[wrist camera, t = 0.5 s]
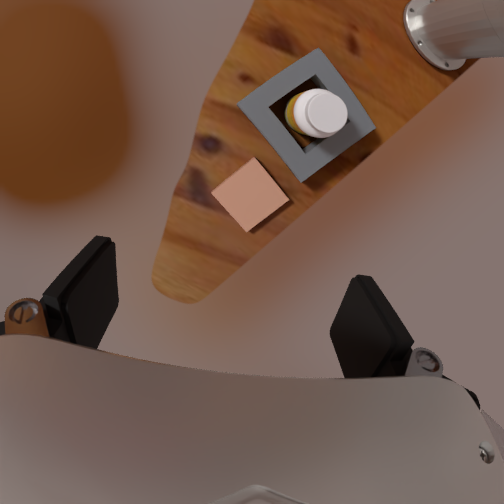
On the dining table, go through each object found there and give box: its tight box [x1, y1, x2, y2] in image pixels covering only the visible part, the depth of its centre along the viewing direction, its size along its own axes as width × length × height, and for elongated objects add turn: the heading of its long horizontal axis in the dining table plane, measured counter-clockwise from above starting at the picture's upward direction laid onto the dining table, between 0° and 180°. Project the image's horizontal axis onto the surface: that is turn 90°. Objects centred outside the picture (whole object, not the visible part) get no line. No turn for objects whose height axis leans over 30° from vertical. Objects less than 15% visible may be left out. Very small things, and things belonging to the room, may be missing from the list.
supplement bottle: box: [284, 89, 348, 138], centre depth 28 cm, size 5×5×10 cm
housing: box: [237, 48, 376, 183], centre depth 31 cm, size 12×12×3 cm
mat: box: [211, 157, 289, 232], centre depth 36 cm, size 7×7×1 cm
